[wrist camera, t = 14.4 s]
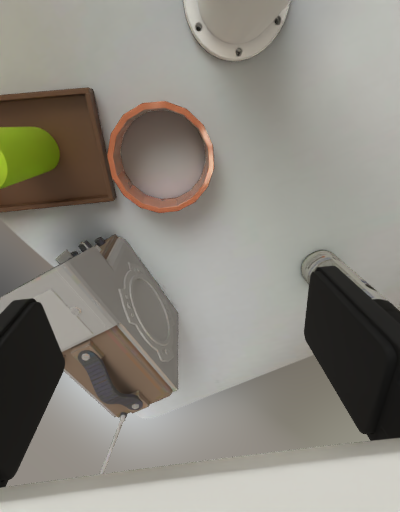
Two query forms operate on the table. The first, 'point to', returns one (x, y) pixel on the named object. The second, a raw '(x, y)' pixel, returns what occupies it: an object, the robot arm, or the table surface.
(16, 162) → the soap dispenser
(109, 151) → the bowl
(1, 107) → the tray
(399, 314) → the spray can
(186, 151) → the table surface
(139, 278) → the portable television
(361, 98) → the table surface
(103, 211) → the table surface
